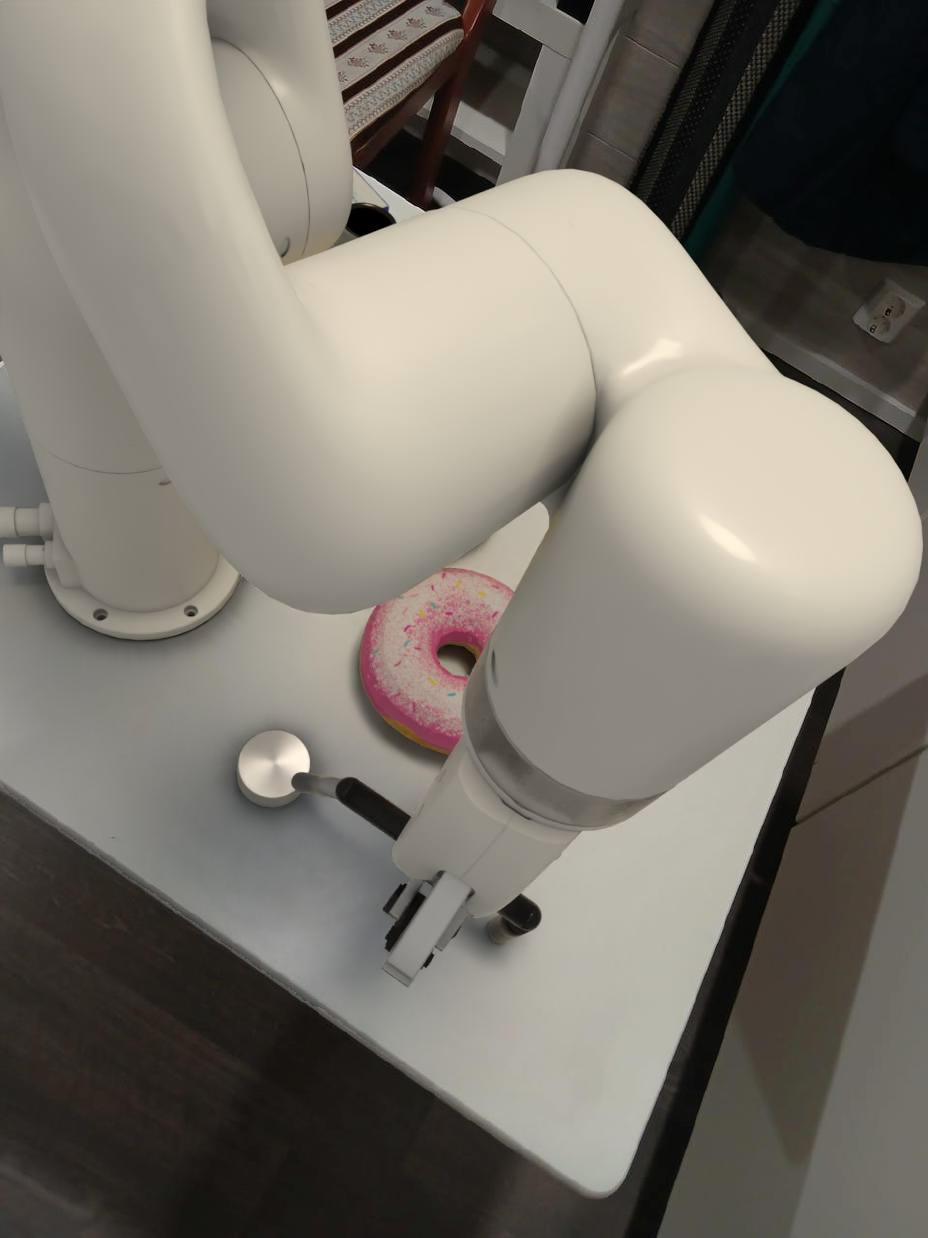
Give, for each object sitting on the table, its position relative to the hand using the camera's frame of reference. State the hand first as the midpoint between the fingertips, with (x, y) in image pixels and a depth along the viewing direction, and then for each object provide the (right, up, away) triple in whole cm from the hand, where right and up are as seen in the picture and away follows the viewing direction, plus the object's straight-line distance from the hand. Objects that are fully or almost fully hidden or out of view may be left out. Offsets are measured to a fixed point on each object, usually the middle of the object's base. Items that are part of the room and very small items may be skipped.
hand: (464, 840), depth 41 cm
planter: (-10, +37, +30) cm, 49 cm away
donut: (-1, +7, +16) cm, 18 cm away
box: (-12, +43, +33) cm, 56 cm away
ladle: (-6, -3, +9) cm, 11 cm away
